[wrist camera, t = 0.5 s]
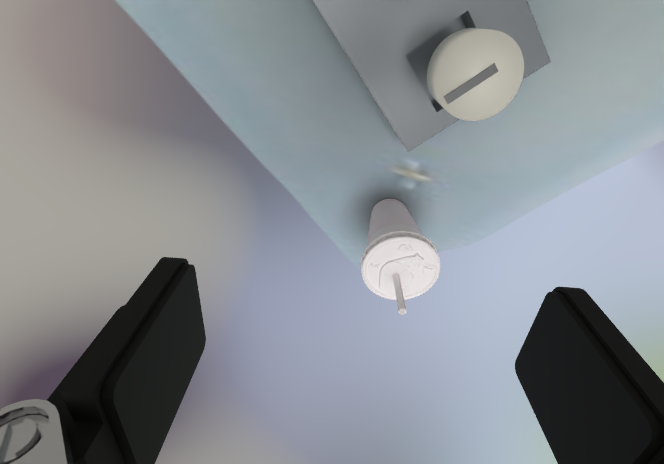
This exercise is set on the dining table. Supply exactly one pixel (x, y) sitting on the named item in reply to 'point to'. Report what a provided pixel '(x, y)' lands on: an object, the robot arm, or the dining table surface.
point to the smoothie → (398, 255)
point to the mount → (420, 50)
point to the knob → (475, 73)
